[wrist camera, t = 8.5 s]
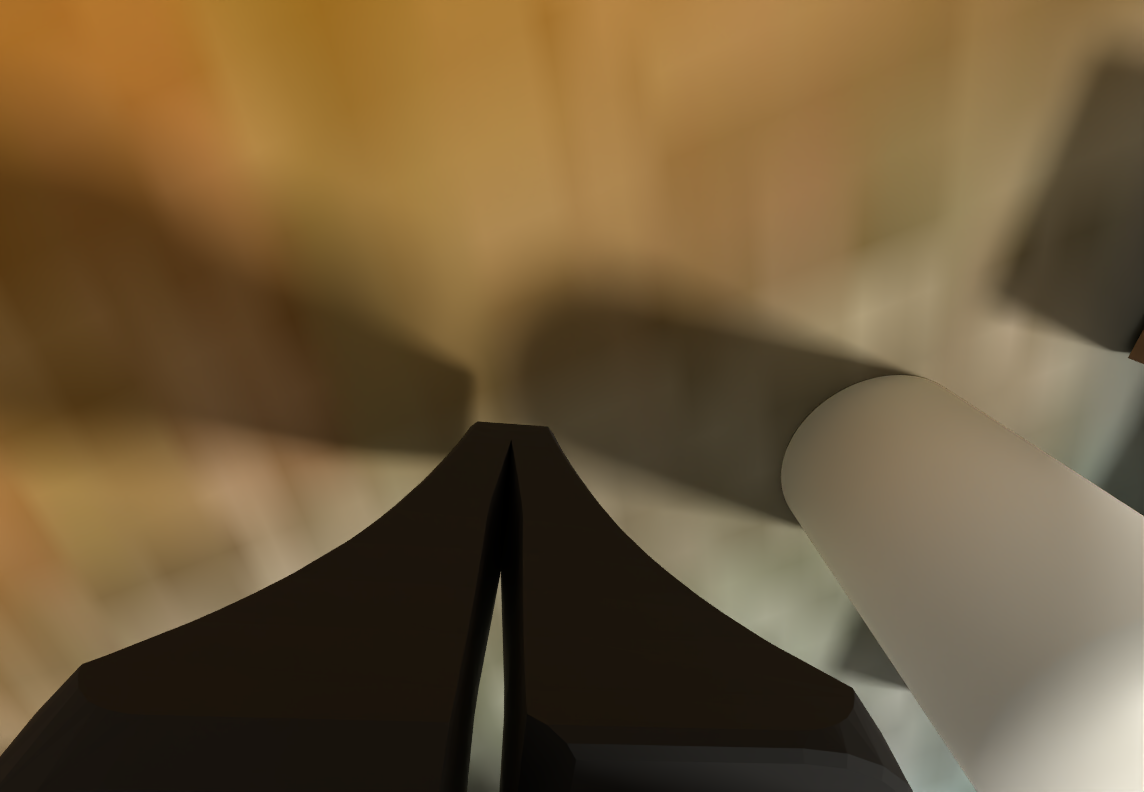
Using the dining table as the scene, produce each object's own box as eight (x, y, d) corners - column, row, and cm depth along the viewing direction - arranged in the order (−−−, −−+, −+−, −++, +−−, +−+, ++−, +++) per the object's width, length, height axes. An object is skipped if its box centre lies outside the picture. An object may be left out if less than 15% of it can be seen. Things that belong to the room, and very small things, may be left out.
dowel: (933, 538, 13) (1210, 825, 8) (764, 537, 13) (928, 834, 8) (998, 377, 12) (1405, 602, 6) (804, 371, 11) (1055, 602, 6)
